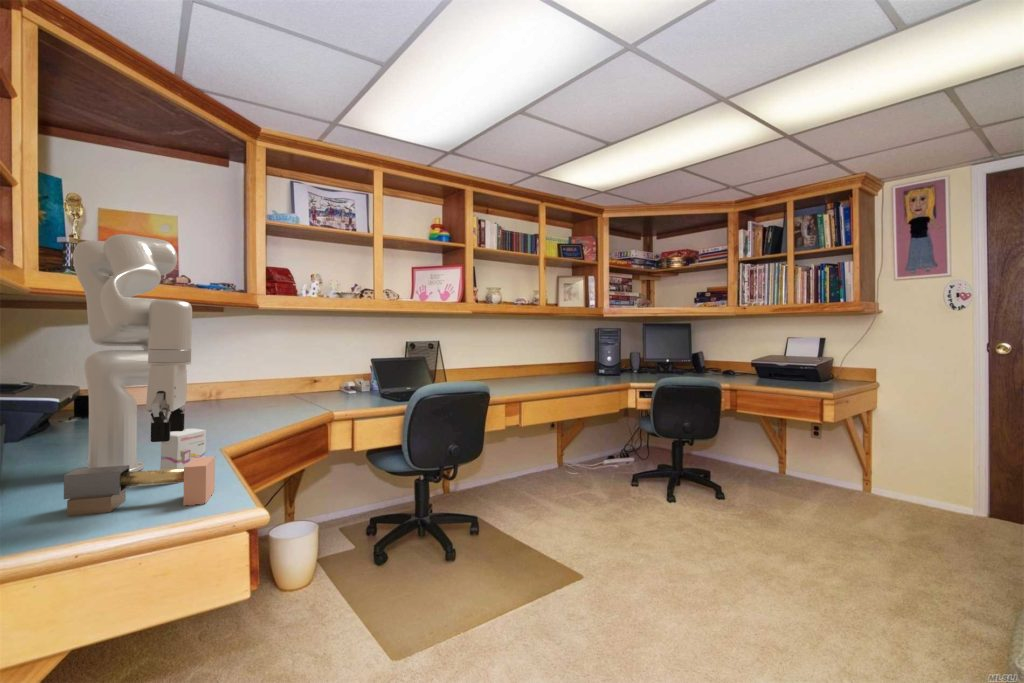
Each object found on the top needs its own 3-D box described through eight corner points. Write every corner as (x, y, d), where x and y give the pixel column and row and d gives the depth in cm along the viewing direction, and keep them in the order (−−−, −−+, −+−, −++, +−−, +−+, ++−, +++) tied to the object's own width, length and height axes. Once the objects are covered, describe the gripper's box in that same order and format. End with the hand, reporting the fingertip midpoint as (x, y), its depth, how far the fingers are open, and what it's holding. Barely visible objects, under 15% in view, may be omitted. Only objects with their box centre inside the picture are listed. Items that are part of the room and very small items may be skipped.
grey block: (60, 516, 91) (60, 476, 91) (78, 504, 98) (79, 467, 98) (117, 511, 95) (117, 472, 95) (131, 500, 101) (131, 463, 101)
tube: (106, 490, 96) (106, 475, 96) (113, 485, 98) (113, 471, 98) (198, 482, 101) (198, 468, 101) (201, 478, 104) (202, 465, 104)
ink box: (176, 484, 112) (176, 435, 112) (159, 482, 113) (159, 434, 113) (206, 474, 121) (206, 428, 121) (190, 472, 122) (190, 427, 122)
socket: (183, 506, 98) (183, 467, 98) (194, 493, 106) (194, 457, 106) (205, 503, 100) (206, 465, 100) (214, 492, 107) (215, 456, 107)
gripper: (162, 354, 107) (161, 428, 108) (132, 360, 91) (130, 447, 91) (201, 355, 110) (199, 427, 110) (178, 360, 94) (176, 445, 94)
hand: (168, 436), depth 101 cm, fingers open, 9 cm apart
